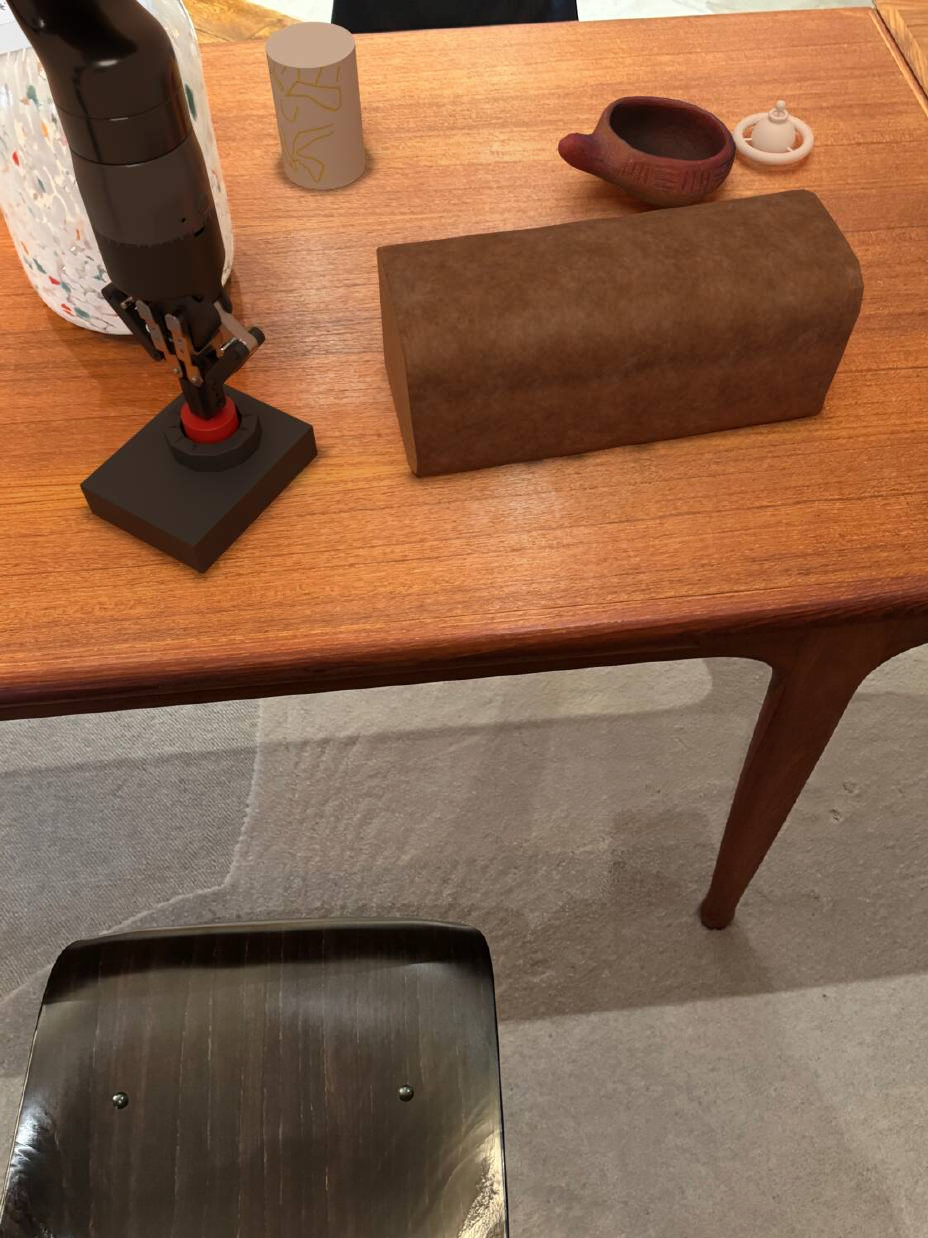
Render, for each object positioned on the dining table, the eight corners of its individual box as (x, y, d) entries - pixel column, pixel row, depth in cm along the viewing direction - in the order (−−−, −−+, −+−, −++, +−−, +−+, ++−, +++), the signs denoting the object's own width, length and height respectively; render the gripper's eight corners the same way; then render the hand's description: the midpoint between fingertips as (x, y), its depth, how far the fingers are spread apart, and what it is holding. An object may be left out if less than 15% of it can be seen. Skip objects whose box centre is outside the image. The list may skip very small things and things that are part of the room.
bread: (826, 420, 86) (882, 273, 74) (412, 486, 82) (402, 343, 70) (764, 308, 93) (806, 159, 82) (383, 364, 90) (369, 217, 78)
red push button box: (202, 574, 77) (187, 530, 73) (91, 512, 81) (71, 468, 76) (318, 454, 84) (310, 408, 80) (210, 402, 87) (197, 355, 83)
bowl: (640, 138, 108) (651, 60, 102) (749, 185, 104) (767, 106, 97) (545, 212, 102) (549, 133, 95) (656, 266, 97) (669, 187, 90)
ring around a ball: (712, 149, 107) (766, 188, 104) (722, 95, 103) (778, 134, 99) (772, 122, 110) (826, 159, 106) (784, 68, 105) (841, 105, 101)
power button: (215, 454, 78) (211, 437, 77) (174, 433, 79) (169, 416, 78) (250, 421, 80) (246, 404, 79) (209, 401, 81) (204, 384, 80)
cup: (270, 178, 105) (249, 57, 95) (307, 135, 109) (291, 15, 99) (344, 196, 103) (330, 74, 93) (379, 152, 107) (369, 31, 97)
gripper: (25, 198, 64) (107, 407, 78) (192, 271, 60) (246, 478, 74) (111, 138, 68) (174, 349, 82) (274, 203, 64) (311, 413, 78)
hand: (208, 410), depth 78 cm, fingers closed
